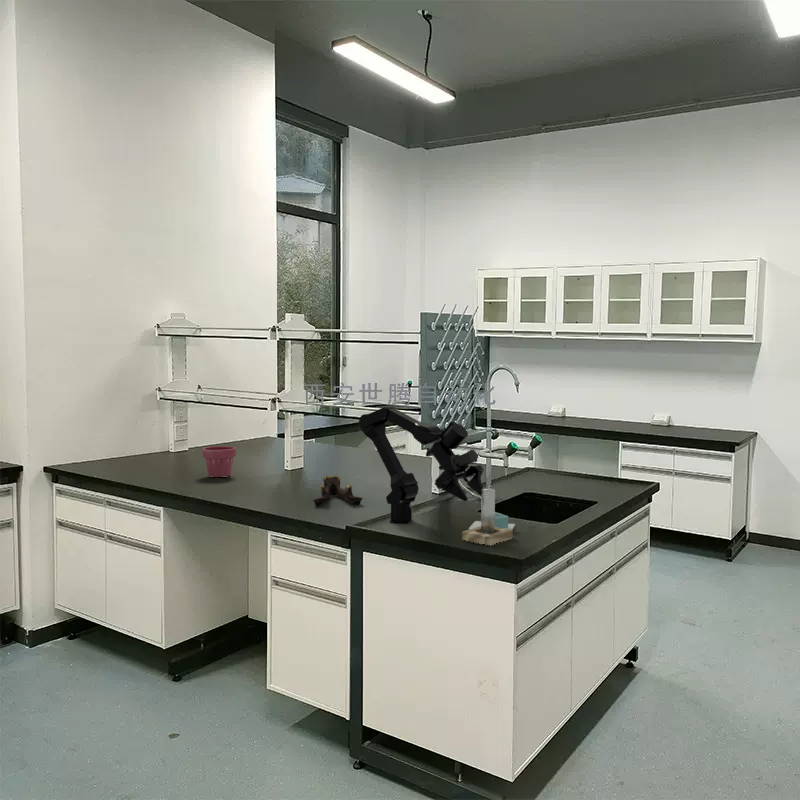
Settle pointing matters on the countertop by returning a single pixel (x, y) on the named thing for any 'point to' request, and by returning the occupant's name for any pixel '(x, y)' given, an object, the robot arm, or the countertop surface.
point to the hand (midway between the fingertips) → (475, 498)
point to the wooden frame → (487, 536)
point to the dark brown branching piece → (335, 491)
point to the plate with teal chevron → (497, 522)
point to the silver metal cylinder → (487, 511)
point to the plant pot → (219, 460)
